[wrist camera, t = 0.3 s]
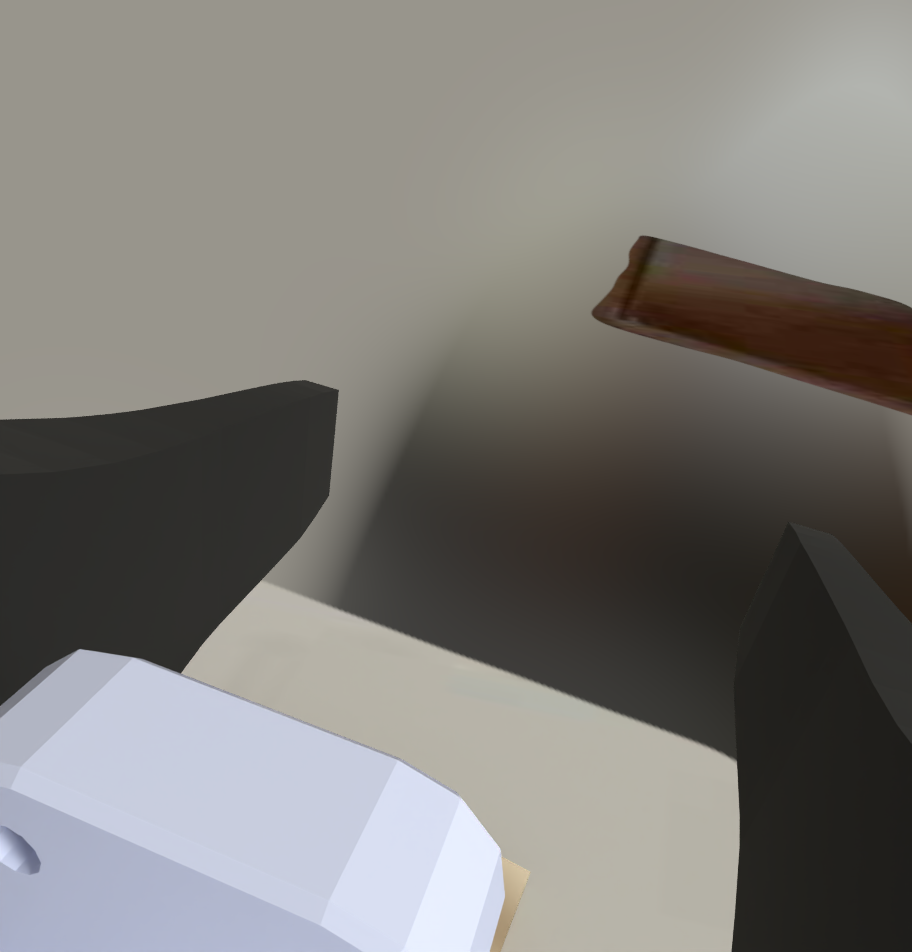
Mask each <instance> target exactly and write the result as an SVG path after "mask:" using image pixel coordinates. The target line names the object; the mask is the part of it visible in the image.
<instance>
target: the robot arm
mask: <svg viewBox="0 0 912 952" xmlns="http://www.w3.org/2000/svg"><path fill="white" fill-rule="evenodd" d="M338 392H339V390H337V389H333V388H329V387H326V386H323V385H320V384H316V383H313V382H309V381H306V380H302V381H291V382H283V383H277V384H272V385H267V386H261V387H257V388H252V389H247V390H242V391H238V392H233V393H228V394H224V395H219V396H215V397H210V398H205V399H200V400H195V401H189V402H184V403H178V404H172V405H167V406H161V407H156V408H150V409H144V410H137V411H131V412H122V413H115V414H105V415H94V416H84V417H71V418H52V419H51V418H50V419H49V418H48V419H15V420H14V419H13V420H12V419H10V420H0V952H490V949H491V945H492V942H493V938H494V934H495V931H496V927H497V924H498V920H499V916H500V913H501V909H502V906H503V902H504V899H505V891H504V880H503V869H502V859H501V849H500V848H499V847H498V845H497V844H496V843H495V841H494V840H493V839H492V837H491V836H490V835H489V833H488V832H487V831H486V829H485V828H484V827H483V826H482V824H481V823H480V822H479V820H478V819H477V818H476V816H475V815H474V814H473V813H472V811H471V810H470V809H469V807H468V806H467V805H466V803H465V802H464V801H463V800H462V798H461V797H460V796H459V794H458V793H457V792H456V791H454V790H452V789H451V788H449V787H447V786H446V785H444V784H442V783H441V782H439V781H437V780H436V779H434V778H432V777H431V776H429V775H427V774H426V773H424V772H422V771H421V770H419V769H417V768H416V767H414V766H412V765H411V764H409V763H407V762H406V761H404V760H402V759H400V758H398V757H395V756H392V755H390V754H387V753H385V752H382V751H380V750H377V749H374V748H372V747H369V746H367V745H364V744H361V743H359V742H356V741H354V740H351V739H348V738H346V737H343V736H341V735H338V734H336V733H333V732H330V731H328V730H325V729H323V728H320V727H317V726H315V725H312V724H310V723H307V722H304V721H302V720H299V719H297V718H294V717H291V716H289V715H286V714H284V713H281V712H279V711H276V710H273V709H271V708H268V707H266V706H263V705H260V704H258V703H255V702H253V701H250V700H247V699H245V698H242V697H240V696H237V695H235V694H232V693H229V692H227V691H224V690H222V689H219V688H216V687H214V686H211V685H209V684H206V683H203V682H201V681H198V680H196V679H193V678H190V677H188V676H185V675H183V674H181V672H182V671H183V670H184V668H185V667H186V666H187V664H188V663H189V661H190V660H191V659H192V657H193V656H194V655H195V653H196V652H197V651H198V649H199V648H200V647H201V645H202V644H203V643H204V642H205V641H206V639H207V638H208V637H209V636H210V635H211V634H212V632H213V631H214V630H215V629H216V628H217V627H218V625H219V624H220V623H221V622H222V621H223V620H224V619H225V618H226V617H227V616H228V615H229V614H230V613H231V612H232V611H233V610H234V608H235V607H236V606H237V605H238V604H239V603H240V602H241V601H242V600H243V599H244V598H245V597H246V596H247V595H248V594H249V593H250V592H251V590H252V589H253V588H254V587H255V586H256V585H257V584H258V583H259V582H260V581H261V580H262V579H263V578H264V577H265V576H266V575H267V573H269V571H270V570H271V569H272V568H273V567H274V566H275V565H276V564H277V563H278V562H279V561H280V560H281V559H282V557H283V556H284V555H285V554H286V553H287V552H288V551H289V550H290V549H291V548H292V546H294V544H295V543H296V542H297V541H298V540H299V539H300V538H301V536H302V535H303V533H304V532H305V531H306V529H307V528H308V526H309V525H310V523H311V522H312V521H313V519H314V518H315V516H316V515H317V513H318V511H319V510H320V508H321V507H322V505H323V504H324V502H325V501H326V499H327V498H328V496H329V489H330V479H331V467H332V457H333V446H334V435H335V424H336V414H337V403H338ZM734 704H735V728H736V748H737V769H738V789H739V810H740V849H739V864H738V878H737V893H736V907H735V919H734V931H733V942H732V952H912V624H911V623H910V621H908V619H907V618H906V617H905V616H904V615H903V614H902V613H901V612H900V610H898V608H897V607H896V606H895V605H894V604H893V602H892V601H891V600H890V599H889V598H888V597H887V596H886V594H885V593H884V592H883V591H882V590H881V589H880V587H879V586H878V585H877V584H876V583H875V582H874V580H873V579H872V578H871V577H870V576H869V575H868V573H867V572H866V571H865V570H864V569H863V568H862V566H861V565H860V564H859V563H858V562H857V561H856V559H855V558H854V557H853V556H852V555H851V554H850V553H849V552H848V550H847V549H846V548H845V547H844V546H843V545H842V544H841V543H840V542H839V541H838V540H837V539H836V538H835V537H834V536H832V534H828V533H825V532H821V531H818V530H814V529H811V528H808V527H804V526H801V525H798V524H794V523H791V522H788V524H787V526H786V528H785V530H784V533H783V535H782V537H781V539H780V541H779V544H778V546H777V548H776V550H775V552H774V555H773V557H772V559H771V561H770V563H769V566H768V568H767V570H766V572H765V575H764V577H763V579H762V581H761V583H760V585H759V587H758V590H757V592H756V594H755V596H754V598H753V600H752V603H751V605H750V607H749V610H748V611H747V614H746V616H745V618H744V620H743V623H742V625H741V627H740V631H739V640H738V648H737V657H736V667H735V678H734Z"/></svg>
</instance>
